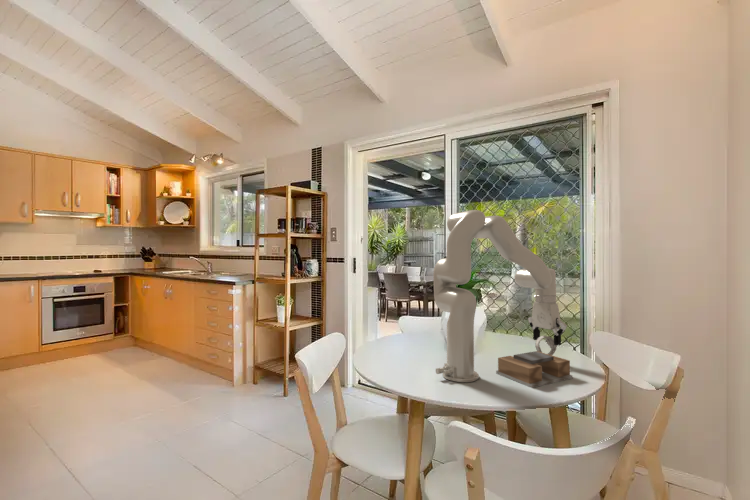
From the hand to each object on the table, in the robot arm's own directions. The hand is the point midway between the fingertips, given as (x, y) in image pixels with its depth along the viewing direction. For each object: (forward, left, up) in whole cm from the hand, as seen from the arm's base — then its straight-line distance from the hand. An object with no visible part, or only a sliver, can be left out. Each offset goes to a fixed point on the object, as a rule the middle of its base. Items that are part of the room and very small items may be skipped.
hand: (546, 342), depth 148 cm
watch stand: (-17, -8, -9) cm, 20 cm away
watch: (-1, 0, -9) cm, 9 cm away
